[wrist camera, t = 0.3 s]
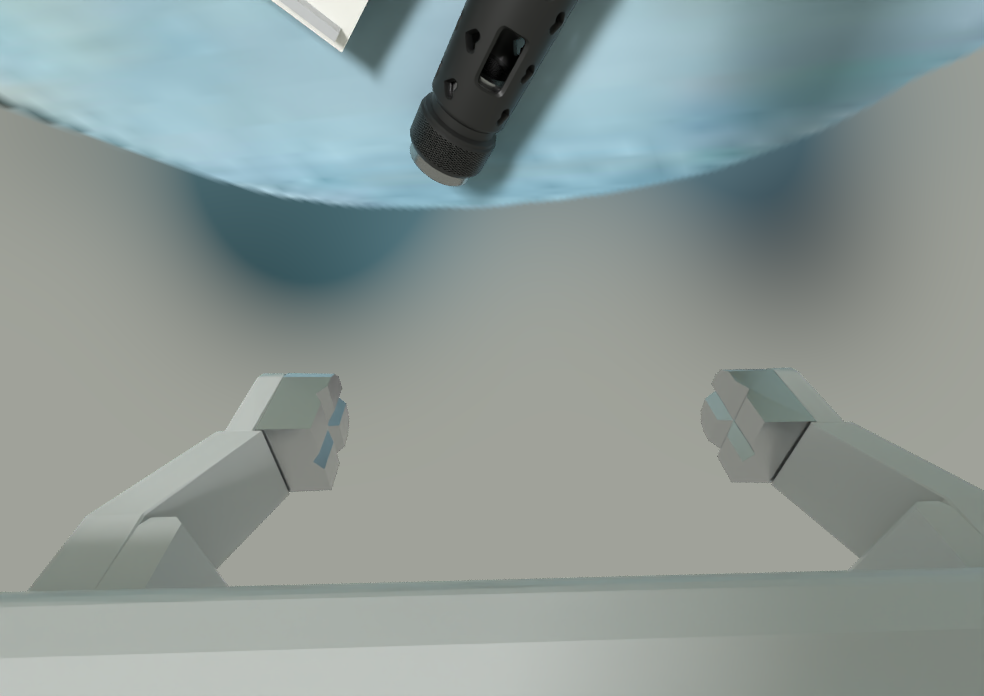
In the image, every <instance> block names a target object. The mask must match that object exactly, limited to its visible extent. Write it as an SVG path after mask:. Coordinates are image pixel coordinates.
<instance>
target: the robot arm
mask: <svg viewBox="0 0 984 696" xmlns="http://www.w3.org/2000/svg"><path fill="white" fill-rule="evenodd" d="M711 384H712V386H713V388H714V390H715V392H713V393H712V394H711V395H709V396H708V397H707V398H706V399H705V400H704V403H703V406H702V409H701V424H702V427H703V431H704V433H705V435H706V437H707V439H708V440H709V441H710V442H712V443H713V444H714V445H716V446H717V447H719V448H720V450H719V453H718V456H717V457H718V459H719V461H720V462H721V464H722V466H723V468H724V470H725V471H726V473H727V475H728V477H729V479H730V480H731V482H754V483H759V482H761V483H772V484H771V485H772V486H774V487H775V488H776V489H777V490H778V491H780V492H781V493H782V494H783V495H784V496H786V497H787V498H788V499H789V500H790V501H792V502H793V503H794V504H795V505H796V506H798V507H799V508H800V509H801V510H802V511H804V512H805V513H806V514H807V515H808V516H810V517H811V518H812V519H813V520H815V521H816V522H817V523H818V524H819V525H821V526H822V527H823V528H824V529H825V530H827V531H828V532H829V533H830V534H831V535H833V536H834V537H835V538H836V539H837V540H839V541H840V542H841V543H842V544H843V545H845V546H846V547H847V548H848V549H849V550H851V551H852V552H853V553H854V554H855V555H857V556H858V557H859V558H860V559H859V560H858V561H857V562H856V563H855V564H854V565H853V566H852V567H851V568H850V569H849V570H848V571H815V572H814V571H813V572H812V571H811V572H774V573H773V572H772V573H735V574H699V575H697V574H695V575H656V576H618V577H579V578H542V579H508V580H507V579H505V580H470V581H469V580H467V581H429V582H390V583H389V582H388V583H350V584H314V585H313V584H311V585H271V586H235V587H233V586H232V587H229V586H228V584H227V583H226V582H225V580H224V579H223V578H222V576H221V575H220V574H219V572H218V571H217V570H216V569H217V568H218V567H219V566H220V565H221V564H222V563H223V562H224V561H225V560H226V559H227V558H228V557H229V556H230V555H231V554H232V553H233V552H234V551H235V550H236V549H237V547H239V546H240V545H241V544H242V543H243V542H244V540H246V538H247V537H248V536H249V535H250V534H251V533H252V532H253V531H254V530H255V529H256V528H257V527H258V526H259V525H260V524H261V523H262V522H263V521H264V520H265V519H266V518H267V517H268V516H269V515H270V514H271V513H272V512H273V510H275V508H276V507H278V506H279V504H280V503H281V502H282V501H283V500H284V499H285V498H286V497H287V496H288V495H289V492H296V491H319V490H332V487H333V483H334V480H335V477H336V474H337V470H338V467H339V464H340V463H339V459H338V456H337V453H338V451H340V450H341V449H342V448H343V447H344V446H345V444H346V440H347V437H348V429H349V416H348V409H347V405H346V403H345V402H344V401H342V400H341V399H340V398H339V396H340V393H341V390H342V386H341V383H340V379H339V376H337V375H336V374H297V373H295V374H292V373H288V374H262V375H260V376H259V377H258V378H257V379H256V380H255V382H254V384H253V385H252V387H251V389H250V391H249V392H248V394H247V396H246V397H245V399H244V400H243V402H242V404H241V405H240V407H239V409H238V410H237V412H236V414H235V415H234V417H233V418H232V420H231V422H230V424H229V425H228V427H227V429H226V430H225V431H217V432H215V433H214V434H213V435H211V436H209V437H208V438H206V439H204V440H203V441H201V442H200V443H198V444H197V445H195V446H194V447H192V448H191V449H189V450H188V451H186V452H185V453H183V454H181V455H180V456H178V457H177V458H175V459H174V460H172V461H170V462H169V463H167V464H166V465H164V466H163V467H161V468H160V469H158V470H157V471H155V472H154V473H152V474H151V475H149V476H147V477H146V478H144V479H143V480H141V481H139V482H138V483H136V484H135V485H133V486H132V487H130V488H129V489H127V490H126V491H124V492H122V493H121V494H119V495H118V496H116V497H115V498H113V499H112V500H110V501H109V502H107V503H105V504H104V505H102V506H101V507H99V508H98V509H96V510H95V511H93V512H92V513H90V514H89V515H87V516H86V517H85V518H84V519H83V520H82V522H81V523H80V524H79V526H78V527H77V528H76V529H75V531H74V532H73V533H72V535H71V536H70V537H69V538H68V540H67V541H66V542H65V543H64V545H63V546H62V547H61V549H60V550H59V551H58V553H57V554H56V555H55V556H54V558H53V559H52V560H51V562H50V563H49V564H48V565H47V567H46V568H45V569H44V571H43V572H42V573H41V574H40V576H39V577H38V578H37V579H36V581H35V582H34V583H33V585H32V586H31V587H30V588H29V590H28V591H27V592H0V696H984V490H982V489H980V488H978V487H976V486H974V485H972V484H970V483H968V482H966V481H965V480H963V479H961V478H959V477H957V476H955V475H953V474H951V473H949V472H947V471H945V470H943V469H942V468H940V467H938V466H936V465H934V464H932V463H930V462H928V461H926V460H924V459H922V458H921V457H919V456H917V455H914V454H913V453H911V452H909V451H907V450H905V449H903V448H901V447H899V446H897V445H896V444H894V443H891V442H890V441H888V440H886V439H884V438H882V437H880V436H878V435H876V434H874V433H872V432H870V431H869V430H867V429H865V428H863V427H861V426H859V425H857V424H855V423H853V422H844V421H843V420H842V418H841V417H840V416H839V415H838V414H837V413H836V412H835V411H834V410H833V409H832V408H831V406H830V405H829V404H828V403H827V402H826V401H825V400H824V399H823V398H822V397H821V396H820V394H819V393H818V392H817V391H816V390H815V389H814V388H813V387H812V386H811V385H810V384H809V382H808V381H807V380H806V379H805V378H804V377H803V376H802V375H801V374H800V372H799V371H797V370H795V369H793V368H768V369H735V370H720V371H719V372H718V373H717V374H716V375H715V377H714V379H713V381H712V383H711Z"/></svg>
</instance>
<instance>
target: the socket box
mask: <svg viewBox="0 0 984 696" xmlns="http://www.w3.org/2000/svg"><path fill="white" fill-rule="evenodd" d="M272 1H273V2H275V3H276V4H277V5H279V6H280V7H281V8H283V9H284V10H285V11H287V12H288V13H289V14H291V15H292V16H293V17H295V18H296V19H297V20H299V21H300V22H301V23H303V24H304V25H305V26H307V27H308V28H309V29H311V30H312V31H313V32H315V33H316V34H317V35H319V36H320V37H321V38H323V39H324V40H325V41H327V42H328V43H330V44H331V45H332V46H334V47H335V48H336V49H338V50H339V51H340V52H342V51H343V49H344V47H345V45H346V44H347V42H348V40H349V38H350V36H351V34H352V32H353V30H354V28H355V26H356V24H357V22H358V20H359V18H360V16H361V14H362V12H363V10H364V8H365V6H366V4H367V2H368V0H272Z"/></svg>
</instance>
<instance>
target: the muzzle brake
mask: <svg viewBox="0 0 984 696" xmlns="http://www.w3.org/2000/svg"><path fill="white" fill-rule="evenodd" d="M577 1H578V0H467V1H466V3H465V6H464V8H463V10H462V13H461V16H460V18H459V20H458V22H457V25H456V27H455V29H454V32H453V34H452V37H451V39H450V41H449V44H448V46H447V49H446V51H445V53H444V56H443V58H442V61H441V64H440V65H439V68H438V70H437V72H436V75H435V77H434V80H433V83H432V88H433V92H431V93H429V94H428V95H427V96H426V97H424V99H423V100H422V102H421V104H420V106H419V109H418V111H417V114H416V116H415V118H414V121H413V123H412V126H411V129H410V136H411V141H412V143H411V146H410V154H411V157H412V159H413V161H414V163H415V164H416V165H417V167H418V168H419V169H420V170H421V171H422V172H423V173H425V174H426V175H427V176H428V177H430V178H431V179H433V180H435V181H437V182H439V183H441V184H444V185H448V186H461V185H463V184H465V183H466V182H467V181H468V179H469V178H470V177H473V176H475V175H477V174H478V173H479V172H480V171H481V169H482V168H483V166H484V164H485V162H486V161H487V159H488V157H489V156H490V154H491V152H492V151H493V149H494V147H495V142H496V133H497V132H499V131H500V130H502V129H503V127H504V125H505V124H506V122H507V120H508V118H509V117H510V115H511V113H512V112H513V110H514V108H515V106H516V105H517V103H518V101H519V100H520V98H521V96H522V95H523V93H524V91H525V89H526V88H527V86H528V84H529V83H530V81H531V79H532V78H533V76H534V74H535V72H536V71H537V69H538V67H539V66H540V64H541V62H542V60H543V59H544V57H545V55H546V54H547V52H548V50H549V49H550V47H551V45H552V43H553V42H554V40H555V38H556V37H557V35H558V33H559V31H560V30H561V28H562V26H563V25H564V23H565V21H566V20H567V18H568V16H569V14H570V13H571V11H572V9H573V8H574V6H575V4H576V2H577ZM521 38H523V39H524V40H525V45H524V46H523V47H522V48H521V50H520V54H519V55H518V54H517V47H516V40H519V39H521Z"/></svg>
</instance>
